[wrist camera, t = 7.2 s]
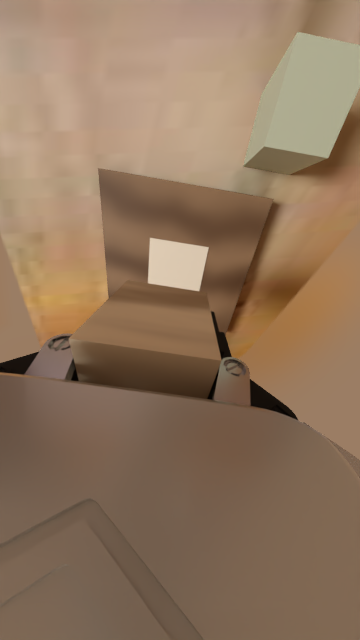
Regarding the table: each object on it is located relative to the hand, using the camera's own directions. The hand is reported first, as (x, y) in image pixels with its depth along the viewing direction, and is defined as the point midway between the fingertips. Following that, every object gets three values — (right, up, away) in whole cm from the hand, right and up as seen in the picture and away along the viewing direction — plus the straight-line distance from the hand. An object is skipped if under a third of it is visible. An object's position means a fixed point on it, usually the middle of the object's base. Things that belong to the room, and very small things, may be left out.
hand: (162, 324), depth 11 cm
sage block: (+11, +18, +5) cm, 22 cm away
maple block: (0, 0, +1) cm, 1 cm away
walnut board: (+1, +8, +12) cm, 14 cm away
